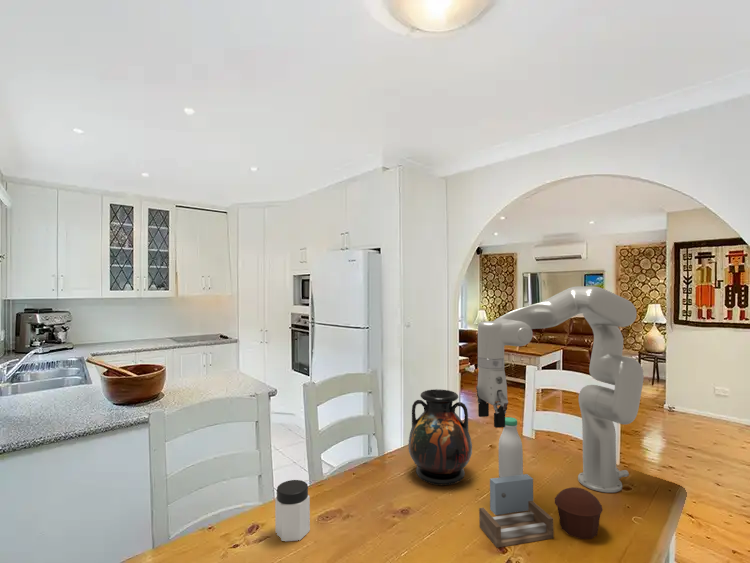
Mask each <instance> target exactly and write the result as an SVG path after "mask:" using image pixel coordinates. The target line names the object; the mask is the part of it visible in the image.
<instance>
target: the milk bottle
mask: <svg viewBox="0 0 750 563" xmlns="http://www.w3.org/2000/svg"><path fill="white" fill-rule="evenodd" d="M517 427H518V419H517V418H515V417H510V416H508V417H507V416H505V427H502V432H501V434H500V436H499V439H498V478H499V477H507V476H515V475H523V474H524V458H523V456H524V454H523V453H524V452H523V443H522V439H521V437H520V435H519V432H518V429H517Z"/></svg>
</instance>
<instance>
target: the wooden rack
mask: <svg viewBox="0 0 750 563" xmlns="http://www.w3.org/2000/svg"><path fill="white" fill-rule="evenodd" d="M478 511H479V514H478V515H479V518H478V520H479V528H480V530H481V531H483V533H484V535H486V537H487V538H488V539H489V540H490V541H491V542H492V544H493V545H494V546H495V548H503V547H510V546H513V545H514V546H515V545H521V544H527V543H532V542H539V541H544V540H551V539H554V518H553V517H552V516H551V515H550V514H548V512H546V511H545V510H544V509H543V508H542V507H540V506H539V505H538V504H537V503H536V502H535V501H534V500H533V501H528V511H523V512H516V513H509V514H503V515H496V516H492V515H491V514H490V513H489V512H488V511H487V509H486V508H485V507H479V508H478Z"/></svg>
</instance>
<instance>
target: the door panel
mask: <svg viewBox="0 0 750 563" xmlns="http://www.w3.org/2000/svg"><path fill="white" fill-rule="evenodd" d="M528 501H533V502H534V478H533V477H531V476H530V475H529V474H528V473H523V475H515V476H507V477H499V476H498V477H492V478H489V504H490V506H489V509H490V511H491V512H492V513H493V515H495V516H503V515H509V514H516V513H523V512H528Z"/></svg>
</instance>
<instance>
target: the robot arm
mask: <svg viewBox="0 0 750 563" xmlns="http://www.w3.org/2000/svg"><path fill="white" fill-rule="evenodd" d="M579 314H582V316H583V317H584V319H585V320H586V322H587V323H588V325H589V327H590V328H591V329H592V334H593V345H592V351H591V355H590V362H589V366H588V367H589V370H588V371H589V375H590V376H591V378H592V379H594V380H595V381H599V382H601V383H604V384H608V385H613V386H614V389H613V388H609V387H607V386H602V385H599V384H589V385H585V386H583V387H582V388H581V389H580V391H579V393H578V405H579V409H580V414H581V422H582V426H581V427H582V471H583V472H579V474H578V475H577V481H578V482H579V483H580V484H581V485H582V486H584V487H585V488H588V489H590V490H593V491H597V492H599V493H609V494H612V493H618V492H620V491H622V490H623V483H622V481H621V480H620V479H622V478H625V477H627V478H628V477H629V476H630V473H629V471H628V470H627V469H624V470H620V469H619V468H617V447H616V446H617V443H616V442H617V436H616V435H617V432H616V427H615V425H614V424H615V423H616V424H619V425H630V424H631V423H633V422H634V421H635V419H636V418H637V416H638V413H639V409H640V408H639V407H640V402H641V397H642V390H643V386H644V385H643V384H644V370H643V367H642V365H641V364H640V362H638V360H637V359H635V358H632V357H629V356H623V350H624V349H623V348H624V336H623V334H622V331H621V330H620V328H623V327H628V326H631V325H632V324H633V323H634V322H635V321H636V319H637V308H636V306H635V305H634V303H632V301H630V300H629V299H627V298H625V297H623V296H620V295H618V294H616V293H614V292H612V291H610V290H608V289H605V288H602V287H599V286H594V285H593V286H590V285H589V286H588V285H587V286H583V285H582V286H571V287H569V288H566V289H564V290H562V291H560V292H558V293H556V294H554V295H552V296H550V297H548V298H546V299H544V300H542V301H540V302H537V303H533V304H530V305H527V306H526V305H525V306H524V307H520V308H517V309H514V310H511V311H508V312H507V313H505V314H503V315H501V316H499V317H497V318H495V319H494V320H492V321H490V320H489V321H488V320H487V321H486V320H485V321H480V322H479V323H478V324H477V368H478V373H477V374H478V375H477V385H476V397H477V404H478V408H477V409H478V412H477V414H478V415H477V416H478V417H479V418H485V417H486V418H487V417H489V416H490V414H489V412H490V406H489V405H491V406H493V409H494V413H493V427H494V428H495V429H498V428H504V427H505V417H506V414H507V409H508V404H509V400H508V387H507V386H508V384H507V377H506V372H505V347H506V346H510V347H523V346H526V345H528V344H529V343H530V342H531V341H532V339H533V336H534V335H533V334H534V332H533V330H536V329H537V330H538V329H548V328H553V327H556V326H559V325H561V324H563V323H564V322H566V321H567V320H569V319H571V318H573V317H575V316H578V315H579ZM619 327H620V328H619Z"/></svg>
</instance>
